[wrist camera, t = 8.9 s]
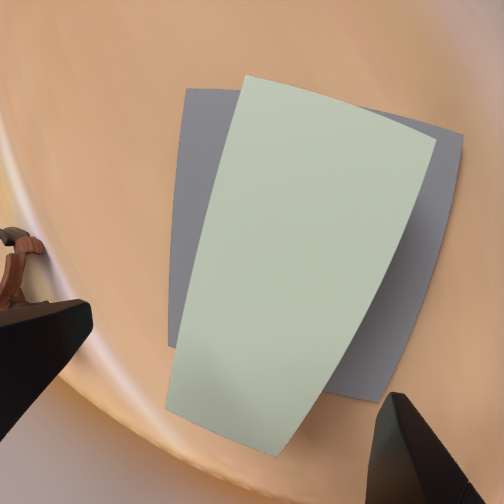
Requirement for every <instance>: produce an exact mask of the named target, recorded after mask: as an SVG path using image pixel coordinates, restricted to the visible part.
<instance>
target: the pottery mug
mask: <svg viewBox="0 0 504 504" xmlns="http://www.w3.org/2000/svg"><path fill="white" fill-rule="evenodd" d="M0 239H1V240H2V241H3V243H4V245H5V246H14V250H15V253H14V254H13V253H10V254H8V255H7V256H6V263H5V271H4V275H3V278H2V281H1V283H0V311H2V310H9V309H16V308H22V307H29V306H36V305H42V304H49V302H48V301H43V302H39V303H29V302H26V301H25V299H24V296H23V294H22V291H21V288H20V286H21V282H22V274H23V271H24V266H25V257H26V254H31V253H34V254H38V255H42V254H43V253H44V249H43V244H42V242H41V241H40V240H38V239H36V238H35V237H30V235H29V233H28V232H26V231H24V230H22V229H19V228H15V227H8V228H5V229H3V230H2V229H0Z"/></svg>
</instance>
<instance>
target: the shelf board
mask: <svg viewBox="0 0 504 504" xmlns="http://www.w3.org/2000/svg"><path fill="white" fill-rule="evenodd" d="M435 143H436V139H434V138H432V137H430V136H428V135H426V134H423V133H421V132H419V131H417V130H415V129H412V128H410V127H408V126H405V125H403V124H401V123H398V122H396V121H393V120H391V119H389V118H386V117H384V116H381V115H378V114H376V113H373V112H371V111H368V110H365V109H363V108H360V107H357V106H354V105H351V104H348V103H346V102H343V101H340V100H337V99H334V98H330V97H327V96H324V95H321V94H318V93H314V92H311V91H307V90H304V89H300V88H297V87H293V86H289V85H286V84H282V83H278V82H274V81H270V80H265V79H261V78H257V77H252V76H248V75H246V76H245V79H244V82H243V86H242V89H241V92H240V95H239V99H238V102H237V105H236V108H235V112H234V115H233V118H232V122H231V125H230V129H229V132H228V135H227V139H226V142H225V146H224V149H223V153H222V157H221V160H220V164H219V167H218V171H217V175H216V178H215V182H214V186H213V190H212V193H211V197H210V201H209V205H208V209H207V213H206V217H205V221H204V225H203V229H202V233H201V237H200V241H199V245H198V249H197V253H196V257H195V262H194V266H193V270H192V275H191V279H190V283H189V288H188V292H187V297H186V302H185V306H184V311H183V315H182V320H181V325H180V330H179V335H178V340H177V345H176V350H175V355H174V360H173V365H172V370H171V376H170V381H169V387H168V392H167V398H166V404H165V409H166V410H168V411H170V412H172V413H174V414H176V415H178V416H180V417H182V418H184V419H186V420H188V421H190V422H192V423H194V424H196V425H198V426H200V427H202V428H205V429H207V430H209V431H211V432H213V433H216V434H218V435H220V436H222V437H225V438H227V439H229V440H232V441H234V442H237V443H239V444H242V445H244V446H247V447H249V448H252V449H254V450H257V451H260V452H262V453H265V454H268V455H270V456H273V457H276V458H277V457H278V455H279V454H280V453H281V451H282V450H283V448H284V447H285V446H286V444H287V443H288V441H289V440H290V439H291V437H292V436H293V434H294V433H295V431H296V430H297V428H298V427H299V426H300V424H301V423H302V421H303V420H304V418H305V417H306V415H307V414H308V412H309V410H310V409H311V407H312V406H313V404H314V403H315V401H316V400H317V398H318V396H319V395H320V393H321V392H322V390H323V388H324V387H325V385H326V384H327V382H328V380H329V379H330V377H331V375H332V374H333V372H334V370H335V368H336V367H337V365H338V363H339V362H340V360H341V358H342V356H343V355H344V353H345V351H346V349H347V348H348V346H349V344H350V342H351V340H352V338H353V337H354V335H355V333H356V331H357V329H358V327H359V325H360V324H361V322H362V320H363V318H364V316H365V314H366V312H367V310H368V308H369V306H370V304H371V302H372V300H373V298H374V296H375V294H376V292H377V290H378V288H379V286H380V284H381V281H382V279H383V277H384V275H385V273H386V271H387V269H388V266H389V264H390V262H391V260H392V257H393V255H394V253H395V251H396V248H397V246H398V244H399V241H400V239H401V237H402V234H403V232H404V229H405V227H406V224H407V222H408V219H409V217H410V214H411V212H412V209H413V207H414V204H415V201H416V199H417V196H418V193H419V191H420V188H421V185H422V182H423V179H424V177H425V174H426V171H427V168H428V165H429V162H430V159H431V156H432V153H433V149H434V146H435Z"/></svg>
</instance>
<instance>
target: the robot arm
mask: <svg viewBox="0 0 504 504" xmlns="http://www.w3.org/2000/svg"><path fill="white" fill-rule="evenodd" d="M92 329H93V319H92V311H91V306H90V304H89V303H88V302H86V301H84V300H81V299H75V300H68V301H62V302H56V303H49V304H42V305H36V306H29V307H22V308H16V309H9V310H2V311H0V442H1V441H2V439H3V438H4V437H5V436H6V434H7V433H8V432H9V431H10V430H11V428H12V427H13V426H14V425H15V424H16V422H17V421H18V420H19V419H20V418H21V416H22V415H23V414H24V412H26V410H27V409H28V408H29V407H30V406H31V405H32V403H33V402H34V401H35V400H36V399H37V398H38V397H39V395H40V394H41V393H42V392H43V391H44V390H45V388H46V387H47V386H48V385H49V384H50V383H51V382H52V381H53V379H54V378H55V377H56V376H57V375H58V374H59V373H60V372H61V371H62V369H63V368H64V367H65V366H66V365H67V364H68V362H69V361H70V360H71V358H72V357H73V356H74V354H75V353H76V352H77V350H78V349H79V348H80V346H81V345H82V344H83V342H84V341H85V340H86V338H87V337H88V336H89V334H90V333H91V332H92ZM468 482H469V480H468V478H467V477H466V476H465V474H464V473H463V471H462V470H461V469H460V467H459V466H458V464H457V463H456V462H455V460H454V459H453V458H452V456H451V455H450V453H449V452H448V451H447V449H446V448H445V447H444V445H443V444H442V443H441V441H440V440H439V439H438V437H437V436H436V434H435V433H434V432H433V430H432V429H431V428H430V426H429V425H428V424H427V422H426V421H425V420H424V418H423V417H422V416H421V415H420V413H419V412H418V411H417V409H416V408H415V407H414V405H413V404H412V403H411V401H410V400H409V399H408V397H407V396H406V395H405V394H403V393H397V392H390V393H389V394H388V395H387V397H386V399H385V401H384V403H383V405H382V407H381V409H380V411H379V412H378V415H377V418H376V423H375V430H374V436H373V443H372V449H371V455H370V460H369V466H368V475H367V489H366V501H365V504H486V503H485V502H484V500H483V499H482V498H481V496H480V495H479V494H478V492H477V491H476V489H475V488H474V487H473V485H472V484H471V483H470V482H469V483H468Z"/></svg>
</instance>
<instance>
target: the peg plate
mask: <svg viewBox="0 0 504 504" xmlns="http://www.w3.org/2000/svg"><path fill="white" fill-rule="evenodd" d="M240 92H241V91H239V90H222V89H186V95H185V102H184V109H183V116H182V124H181V132H180V141H179V149H178V159H177V168H176V179H175V190H174V202H173V215H172V230H171V247H170V269H169V302H168V346H170V347H173V348H175V349H176V345H177V340H178V335H179V330H180V325H181V320H182V315H183V311H184V306H185V302H186V297H187V292H188V288H189V283H190V279H191V275H192V270H193V266H194V262H195V257H196V253H197V249H198V245H199V241H200V237H201V233H202V229H203V225H204V221H205V217H206V213H207V209H208V205H209V201H210V197H211V193H212V190H213V186H214V182H215V178H216V175H217V171H218V167H219V164H220V160H221V157H222V153H223V149H224V146H225V142H226V139H227V135H228V132H229V129H230V125H231V122H232V118H233V115H234V112H235V108H236V105H237V102H238V99H239V95H240ZM357 107H358V106H357ZM360 108H363V107H360ZM363 109H365V110H368V111H371V112H373V113H376V114H378V115H381V116H384V117H386V118H389V119H391V120H393V121H396V122H398V123H401V124H403V125H405V126H408V127H410V128H412V129H415V130H417V131H419V132H421V133H423V134H426V135H428V136H430V137H432V138H434V139H436V143H435V146H434V149H433V153H432V156H431V159H430V162H429V165H428V168H427V171H426V174H425V177H424V179H423V182H422V185H421V188H420V191H419V193H418V196H417V199H416V201H415V204H414V207H413V209H412V212H411V214H410V217H409V219H408V222H407V224H406V227H405V229H404V232H403V234H402V237H401V239H400V241H399V244H398V246H397V248H396V251H395V253H394V255H393V257H392V260H391V262H390V264H389V266H388V269H387V271H386V273H385V275H384V277H383V279H382V281H381V284H380V286H379V288H378V290H377V292H376V294H375V296H374V298H373V300H372V302H371V304H370V306H369V308H368V310H367V312H366V314H365V316H364V318H363V320H362V322H361V324H360V325H359V327H358V329H357V331H356V333H355V335H354V337H353V338H352V340H351V342H350V344H349V346H348V348H347V349H346V351H345V353H344V355H343V356H342V358H341V360H340V362H339V363H338V365H337V367H336V368H335V370H334V372H333V374H332V375H331V377H330V379H329V380H328V382H327V384H326V385H325V387H324V388H323V390H322V392H327V393H331V394H336V395H341V396H346V397H351V398H356V399H361V400H366V401H372V402H378V403H379V401H380V399H381V397H382V395H383V393H384V391H385V389H386V387H387V385H388V383H389V381H390V379H391V377H392V375H393V372H394V370H395V368H396V366H397V364H398V362H399V359H400V357H401V355H402V353H403V350H404V348H405V346H406V343H407V341H408V339H409V336H410V334H411V331H412V329H413V326H414V324H415V321H416V319H417V316H418V314H419V311H420V308H421V305H422V303H423V300H424V297H425V294H426V291H427V289H428V286H429V283H430V280H431V277H432V273H433V270H434V267H435V264H436V261H437V257H438V254H439V250H440V247H441V243H442V240H443V236H444V232H445V229H446V225H447V221H448V217H449V212H450V208H451V204H452V199H453V194H454V190H455V185H456V180H457V174H458V169H459V163H460V157H461V150H462V143H463V136H464V135H462V134H459V133H456V132H453V131H450V130H447V129H444V128H440V127H437V126H434V125H431V124H427V123H424V122H420V121H417V120H413V119H409V118H406V117H402V116H398V115H394V114H390V113H386V112H381V111H377V110H373V109H368V108H363Z"/></svg>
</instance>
